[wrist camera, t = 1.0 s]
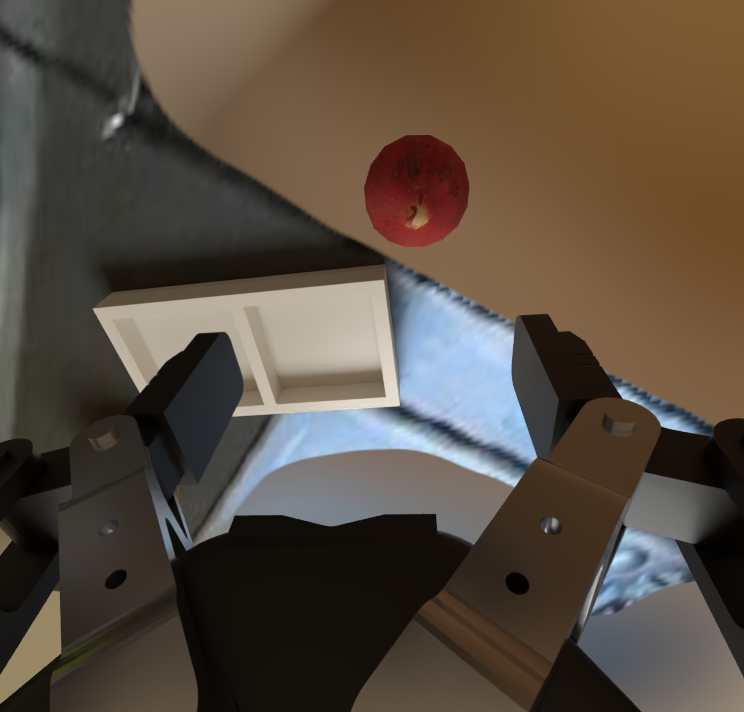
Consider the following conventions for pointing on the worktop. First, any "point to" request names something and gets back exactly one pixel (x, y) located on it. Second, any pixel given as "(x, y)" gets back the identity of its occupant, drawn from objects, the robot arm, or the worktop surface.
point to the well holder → (271, 336)
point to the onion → (416, 191)
